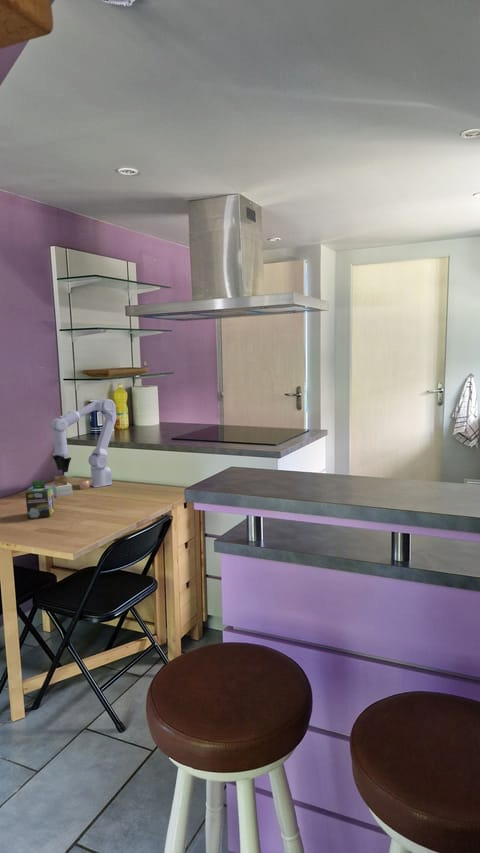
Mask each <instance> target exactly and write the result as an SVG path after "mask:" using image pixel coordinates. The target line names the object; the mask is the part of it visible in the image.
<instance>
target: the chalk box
mask: <svg viewBox="0 0 480 853" xmlns="http://www.w3.org/2000/svg"><path fill="white" fill-rule="evenodd" d="M31 483H32V486H31V487H29V488H28V489H26V491H25V492H24V494H25V495H24V496H25V503H26V511H27V519H38V518H39V519H41V518H51V516H52V515H53V514H54V513H55V511H56V506H55V505H56V504H55V496H54V494H53V484H50V485H49V484H47V485H45V481H44V480H32V481H31ZM37 484H40V485H37Z"/></svg>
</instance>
